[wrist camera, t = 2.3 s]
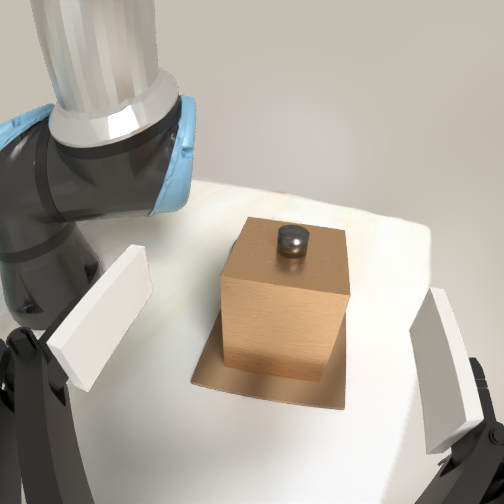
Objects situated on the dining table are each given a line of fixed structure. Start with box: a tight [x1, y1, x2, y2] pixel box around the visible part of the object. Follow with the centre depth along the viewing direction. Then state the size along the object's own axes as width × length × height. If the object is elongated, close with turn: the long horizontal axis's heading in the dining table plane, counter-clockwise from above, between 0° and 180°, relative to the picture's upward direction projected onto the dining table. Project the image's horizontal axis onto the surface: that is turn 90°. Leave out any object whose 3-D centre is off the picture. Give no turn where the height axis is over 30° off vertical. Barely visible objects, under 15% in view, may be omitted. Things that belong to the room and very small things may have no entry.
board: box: [191, 309, 346, 410], centre depth 30 cm, size 14×14×1 cm
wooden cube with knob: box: [220, 217, 350, 383], centre depth 27 cm, size 9×9×13 cm
